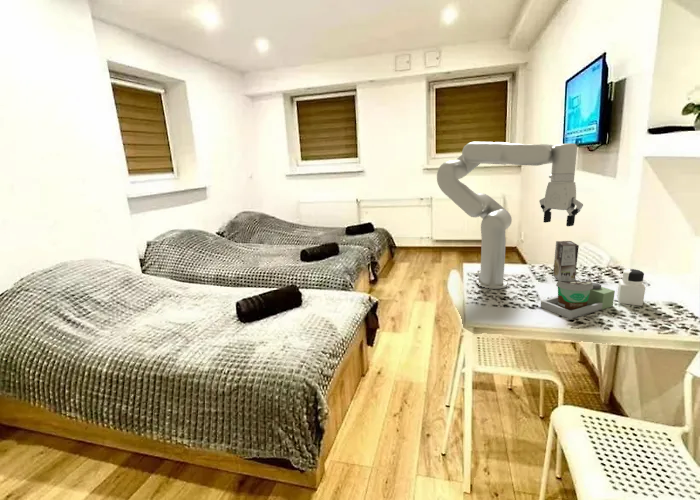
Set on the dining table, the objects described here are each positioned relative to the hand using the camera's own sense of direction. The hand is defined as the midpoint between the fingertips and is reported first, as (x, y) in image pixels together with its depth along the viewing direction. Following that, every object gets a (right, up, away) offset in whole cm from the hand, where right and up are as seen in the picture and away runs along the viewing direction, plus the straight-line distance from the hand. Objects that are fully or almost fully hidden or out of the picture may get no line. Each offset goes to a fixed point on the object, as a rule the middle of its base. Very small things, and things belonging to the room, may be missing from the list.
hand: (558, 223), depth 142 cm
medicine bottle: (+25, -29, -3) cm, 38 cm away
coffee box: (+16, -23, +24) cm, 36 cm away
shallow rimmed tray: (+3, -31, -6) cm, 31 cm away
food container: (+2, -31, -9) cm, 32 cm away
